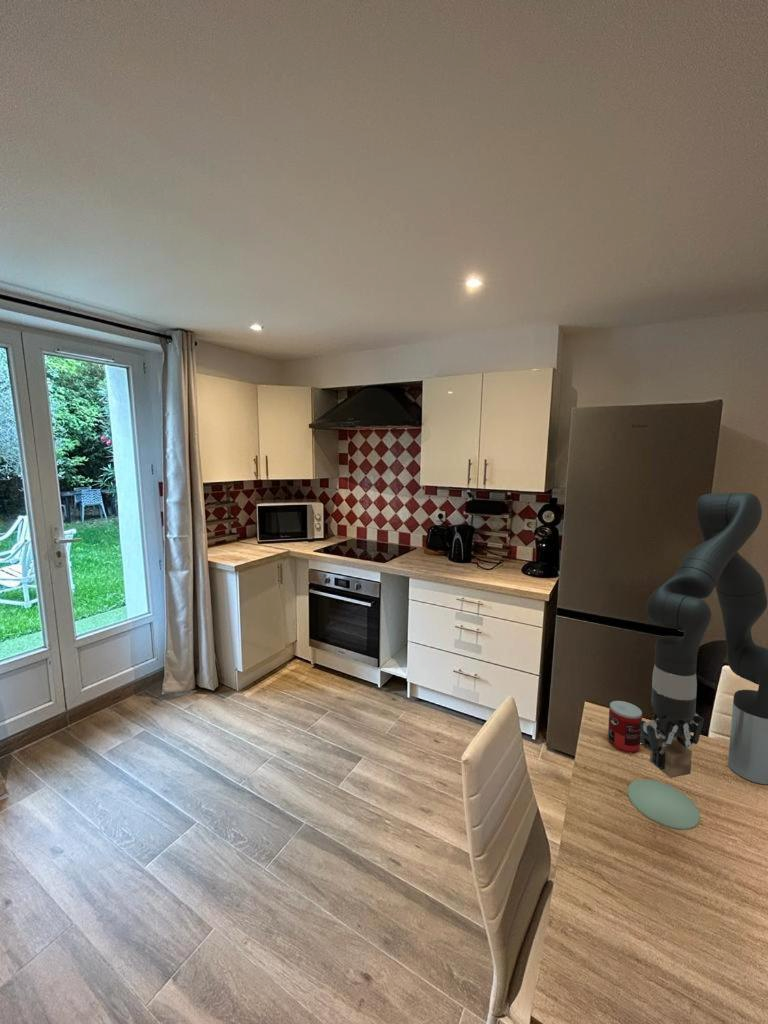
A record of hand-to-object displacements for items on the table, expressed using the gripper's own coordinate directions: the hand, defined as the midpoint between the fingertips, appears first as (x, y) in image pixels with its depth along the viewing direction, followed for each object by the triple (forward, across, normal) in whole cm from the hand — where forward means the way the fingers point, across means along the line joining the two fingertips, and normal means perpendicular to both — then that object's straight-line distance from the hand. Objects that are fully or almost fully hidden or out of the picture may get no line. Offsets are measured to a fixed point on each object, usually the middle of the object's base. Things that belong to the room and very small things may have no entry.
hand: (669, 764), depth 88 cm
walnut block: (+1, 0, 0) cm, 1 cm away
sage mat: (+17, -6, -7) cm, 19 cm away
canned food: (+17, -14, -27) cm, 35 cm away
